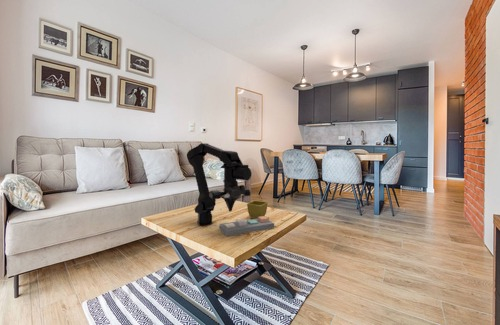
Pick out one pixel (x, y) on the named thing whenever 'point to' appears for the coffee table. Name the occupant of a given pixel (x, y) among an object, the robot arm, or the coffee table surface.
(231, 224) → the key
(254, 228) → the keyguard frame
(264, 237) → the coffee table surface
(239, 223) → the key
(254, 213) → the flower pot
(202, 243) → the coffee table surface
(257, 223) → the key
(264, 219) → the key
